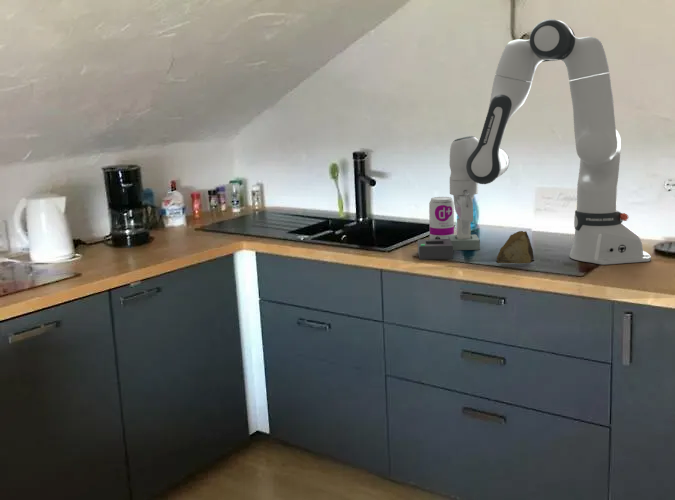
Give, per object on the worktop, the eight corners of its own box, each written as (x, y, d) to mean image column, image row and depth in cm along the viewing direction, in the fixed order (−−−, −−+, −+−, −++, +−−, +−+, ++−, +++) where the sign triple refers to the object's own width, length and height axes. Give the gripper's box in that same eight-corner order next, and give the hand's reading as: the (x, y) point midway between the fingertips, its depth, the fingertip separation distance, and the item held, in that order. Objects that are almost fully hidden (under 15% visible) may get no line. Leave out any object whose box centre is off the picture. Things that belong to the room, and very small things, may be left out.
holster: (476, 246, 236) (476, 234, 235) (479, 252, 227) (479, 240, 226) (448, 247, 236) (448, 235, 235) (451, 253, 228) (450, 240, 227)
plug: (469, 245, 233) (469, 218, 231) (470, 247, 230) (470, 219, 228) (457, 245, 233) (456, 218, 231) (458, 247, 230) (457, 220, 228)
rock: (489, 257, 210) (522, 256, 205) (493, 231, 213) (526, 229, 208) (502, 272, 218) (535, 271, 212) (506, 247, 221) (538, 245, 216)
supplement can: (455, 244, 241) (455, 199, 237) (431, 244, 241) (430, 200, 238) (452, 239, 249) (452, 196, 245) (428, 240, 249) (427, 197, 246)
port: (449, 254, 226) (449, 237, 225) (452, 261, 216) (452, 244, 215) (417, 255, 227) (417, 238, 226) (419, 262, 217) (419, 245, 216)
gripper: (478, 192, 217) (478, 237, 220) (470, 183, 237) (470, 225, 240) (457, 193, 217) (457, 238, 220) (450, 184, 237) (451, 225, 240)
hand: (463, 231), depth 230 cm, fingers open, 6 cm apart
